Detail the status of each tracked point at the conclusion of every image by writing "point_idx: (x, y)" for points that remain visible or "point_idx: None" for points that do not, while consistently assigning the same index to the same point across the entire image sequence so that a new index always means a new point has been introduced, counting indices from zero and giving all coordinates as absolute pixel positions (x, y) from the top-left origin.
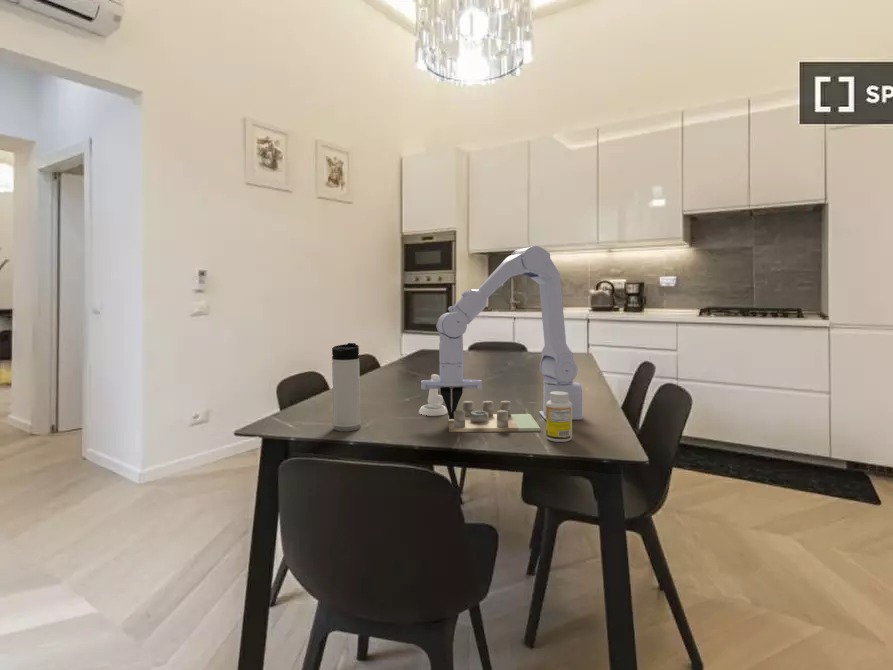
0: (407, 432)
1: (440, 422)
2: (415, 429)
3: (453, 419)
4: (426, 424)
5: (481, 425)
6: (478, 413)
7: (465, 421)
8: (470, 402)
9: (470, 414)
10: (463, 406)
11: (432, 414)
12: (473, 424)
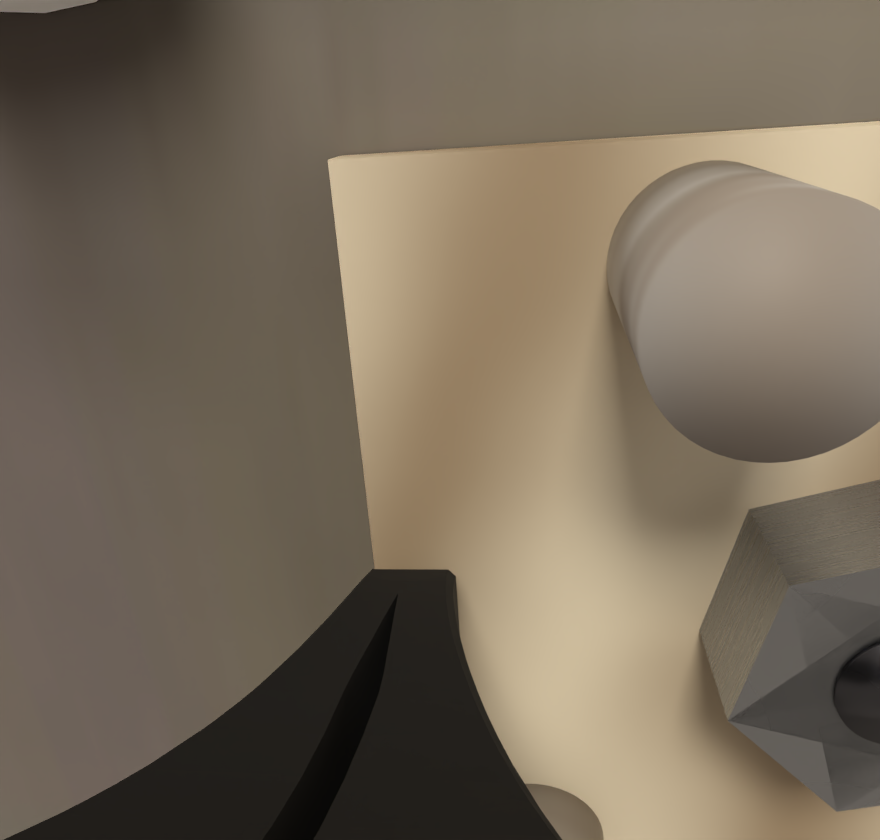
0: (5, 830)
1: (261, 467)
2: (44, 745)
3: (443, 517)
4: (101, 560)
5: (824, 814)
6: (872, 740)
7: (624, 624)
8: (840, 387)
9: (724, 705)
10: (635, 357)
11: (23, 4)
12: (722, 767)
